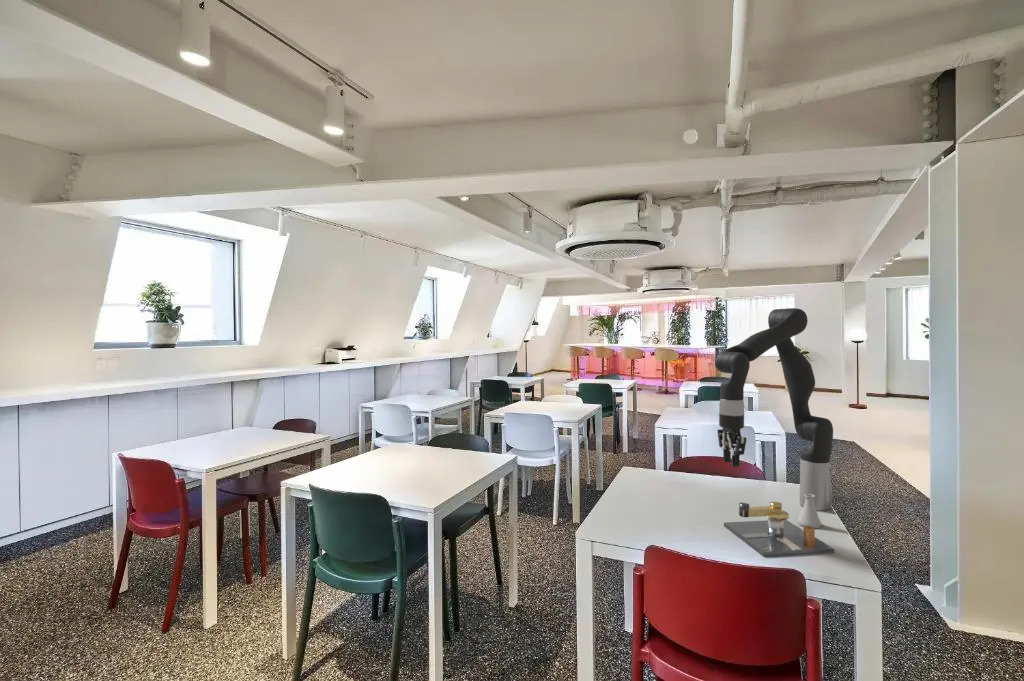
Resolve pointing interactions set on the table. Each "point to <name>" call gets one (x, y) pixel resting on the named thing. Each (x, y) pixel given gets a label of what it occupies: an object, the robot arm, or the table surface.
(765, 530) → the lock base
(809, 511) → the flask
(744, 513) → the brass lever handle
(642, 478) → the table surface
